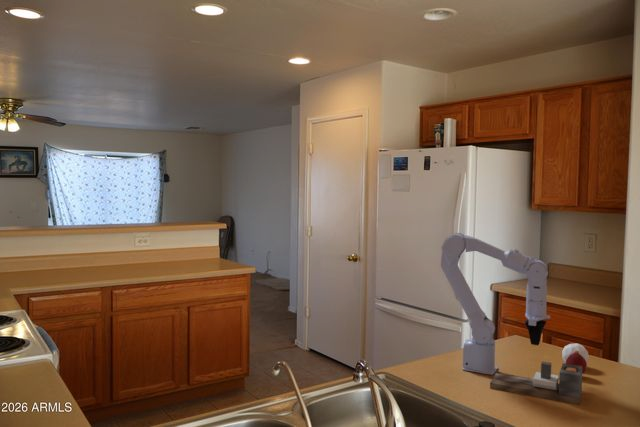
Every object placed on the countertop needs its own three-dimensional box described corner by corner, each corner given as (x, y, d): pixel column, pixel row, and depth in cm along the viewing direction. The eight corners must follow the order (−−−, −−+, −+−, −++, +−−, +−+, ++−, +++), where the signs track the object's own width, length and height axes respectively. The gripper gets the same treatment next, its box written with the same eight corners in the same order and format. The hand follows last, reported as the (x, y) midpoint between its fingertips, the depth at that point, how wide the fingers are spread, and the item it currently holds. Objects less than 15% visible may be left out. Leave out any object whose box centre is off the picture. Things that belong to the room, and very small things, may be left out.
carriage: (532, 387, 149) (533, 364, 148) (536, 380, 155) (536, 358, 154) (555, 391, 146) (556, 368, 145) (558, 383, 152) (559, 361, 151)
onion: (588, 380, 160) (589, 354, 160) (568, 378, 161) (568, 352, 161) (583, 374, 166) (584, 348, 166) (563, 372, 167) (564, 347, 167)
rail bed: (490, 387, 153) (490, 361, 153) (497, 377, 162) (497, 352, 161) (579, 404, 142) (580, 376, 141) (581, 392, 150) (582, 365, 150)
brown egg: (565, 383, 146) (565, 369, 146) (566, 380, 149) (566, 366, 149) (575, 384, 145) (576, 371, 145) (576, 382, 147) (576, 368, 147)
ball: (575, 377, 171) (569, 360, 167) (560, 361, 178) (554, 345, 174) (596, 366, 171) (591, 349, 167) (580, 350, 178) (574, 334, 174)
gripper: (547, 305, 154) (546, 352, 154) (553, 297, 166) (552, 340, 167) (521, 303, 157) (520, 348, 158) (529, 295, 170) (528, 337, 170)
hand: (535, 344), depth 163 cm, fingers closed
